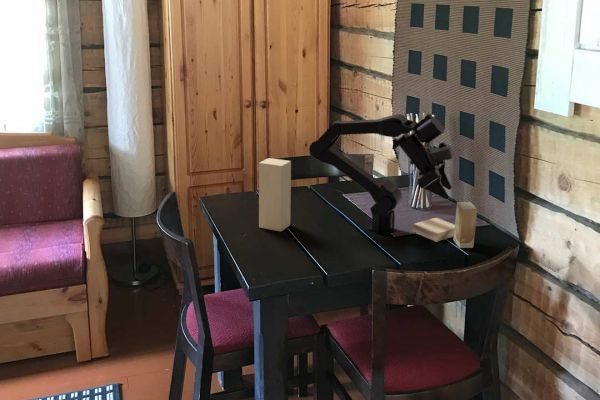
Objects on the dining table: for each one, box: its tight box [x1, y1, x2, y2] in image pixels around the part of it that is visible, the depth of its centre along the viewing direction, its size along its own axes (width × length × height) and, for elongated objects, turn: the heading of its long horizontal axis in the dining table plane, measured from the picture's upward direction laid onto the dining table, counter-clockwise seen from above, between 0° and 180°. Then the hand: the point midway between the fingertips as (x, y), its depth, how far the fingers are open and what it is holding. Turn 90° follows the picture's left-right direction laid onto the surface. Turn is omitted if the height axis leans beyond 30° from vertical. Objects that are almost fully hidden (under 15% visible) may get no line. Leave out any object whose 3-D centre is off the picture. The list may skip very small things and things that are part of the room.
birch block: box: [412, 217, 455, 242], centre depth 210 cm, size 10×10×3 cm
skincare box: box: [453, 201, 478, 249], centre depth 200 cm, size 6×4×12 cm
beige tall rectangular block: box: [258, 157, 292, 232], centre depth 212 cm, size 8×7×21 cm
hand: (449, 193), depth 202 cm, fingers open, 9 cm apart
